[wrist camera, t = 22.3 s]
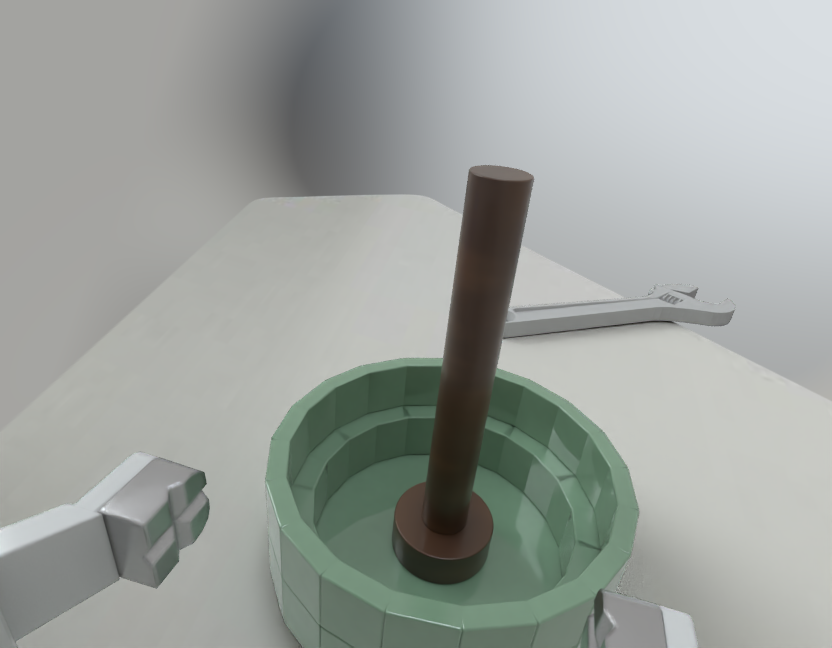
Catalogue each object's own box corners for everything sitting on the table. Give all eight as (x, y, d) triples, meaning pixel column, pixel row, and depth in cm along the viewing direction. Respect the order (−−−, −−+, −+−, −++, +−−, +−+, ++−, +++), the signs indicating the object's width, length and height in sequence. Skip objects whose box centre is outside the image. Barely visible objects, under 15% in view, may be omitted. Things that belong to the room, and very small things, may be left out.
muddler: (382, 572, 22) (419, 178, 15) (402, 495, 26) (440, 151, 18) (485, 595, 22) (581, 200, 14) (490, 513, 26) (568, 167, 18)
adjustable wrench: (491, 341, 43) (495, 322, 42) (465, 305, 48) (468, 287, 47) (741, 326, 49) (748, 309, 48) (693, 296, 55) (699, 280, 54)
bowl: (206, 678, 19) (187, 568, 16) (332, 424, 32) (334, 338, 29) (623, 782, 17) (684, 681, 14) (579, 471, 30) (607, 385, 27)
